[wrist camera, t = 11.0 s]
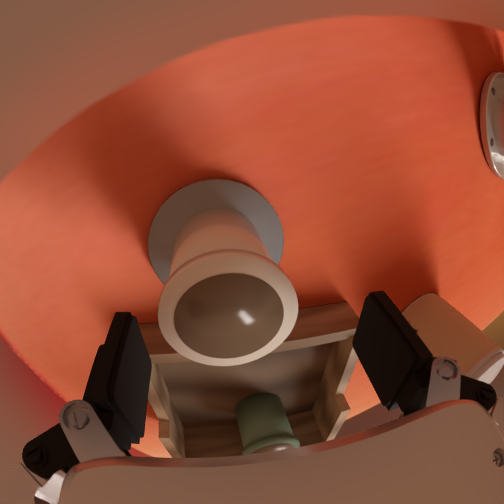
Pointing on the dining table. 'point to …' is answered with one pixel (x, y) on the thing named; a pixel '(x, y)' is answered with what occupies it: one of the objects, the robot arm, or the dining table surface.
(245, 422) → the green pot
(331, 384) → the box
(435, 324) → the coffee cup
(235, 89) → the dining table surface
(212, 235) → the cream pot
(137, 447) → the dining table surface
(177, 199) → the slate saucer
